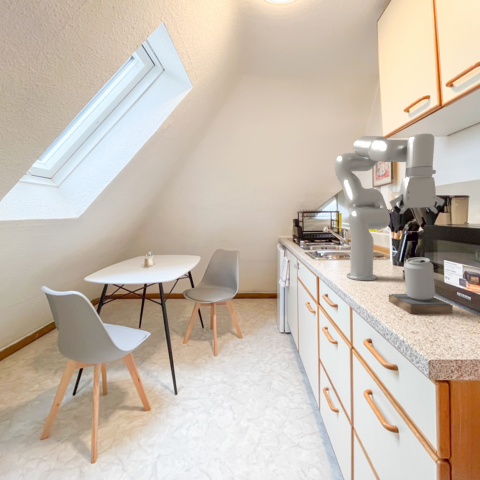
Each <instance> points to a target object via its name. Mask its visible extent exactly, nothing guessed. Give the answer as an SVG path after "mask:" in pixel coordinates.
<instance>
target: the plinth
mask: <svg viewBox="0 0 480 480" xmlns="http://www.w3.org/2000/svg"><path fill="white" fill-rule="evenodd" d="M388 302H389V303H390V304H392V305H394V306H396V307H398V308H399V309H400V310H403V311H405V312H406V313H408V314H410V315H436V314H437V315H438V314H439V315H440V314H453V310H454V309H453V304H451V303H449V302H446V301H444V300H442V299H439V298H437V297H435V296H434V297H433V298H432V299H430V300H424V301H421V300H414V299H412V298H410V297H409V296H408V295H407V293H391V294H388Z"/></svg>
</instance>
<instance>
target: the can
mask: <svg viewBox="0 0 480 480" xmlns="http://www.w3.org/2000/svg"><path fill="white" fill-rule="evenodd" d="M403 270H404V278H405V279H404V281H405V291H406V292H405V294H407V295H408V296H409V297H410V298H412V299H414V300H421V301H424V300H430V299H432V298H433V297H434V298H435V297H436V287H435V274H434V273H435V272H434V264H433V263H432V262H431V259H430V258H427V257H410V258H408V259H407V258H406V260H405V263H404V264H403Z"/></svg>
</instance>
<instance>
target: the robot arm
mask: <svg viewBox="0 0 480 480" xmlns="http://www.w3.org/2000/svg"><path fill="white" fill-rule="evenodd" d="M352 150H353V152H346V153H341V154H339V155H338V156H337V157H336V158H335V162H334V171H335V176H336V179H337V181H338V182H339V183H340V186H341V188H342V192H343V195H344V198H345V202H346V204H347V206H348V208H350V209H352V210H351V211H350V212H349V215H348V226H349V233H350V270H349V271H350V272H348V273H347V274H346V277H347V278H348V279H349V280H350V279H351V280H354V281H355V280H356V281H375V280H377V278H378V277H377V274H374V237H373V235H372V233H371V232H370V230H383V229H386V228H387V227H389V225H390V222H391V215H390V211H389V210H388V206H387V204H386V200H385V198H384V196H383V194H382V192H381V191H380V190H378V189H377V188H364V187H363V185H362V182H361V180H360V178H359V177H358V176H357V175H356V174H355V173H354V172H368V171H371V170H372V169H373V168H374V167H375V166H376V165H377V164H378V163H379V162H382V163H383V162H384V163H405V175H404V178H402V180H401V183H400V187H399V190H398V191H399V192H398V197H395V198H393V199H391V200H390V201H389V204H390V206H391V208H392V210H393V211H394V212H395V214H396V224H397V226H398V227H405V224H406V223H405V222H406V214H405V211H407V210H408V209H426V211H427V212H428V213H426V218H425V219H426V221H425V225H427V226H435V223H436V214H438V212H439V211H440V210H441V208H442V206H443V205H444V203H445V199H443V198H441V197H439V196H437V195H436V194H437V193H436V192H437V191H436V183H435V178H434V176H433V175H435V174H436V173H437V170H436V169H434V167H433V166H434V153H435V151H434V150H435V136H434V135H433V134H432V133H419V134H415V135H412V136H409V137H408V138H407V139H388V138H387V137H386V136H379V135H363V136H360V137H358V138H357V139H356V140H355V141H354V142H353V144H352Z"/></svg>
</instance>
